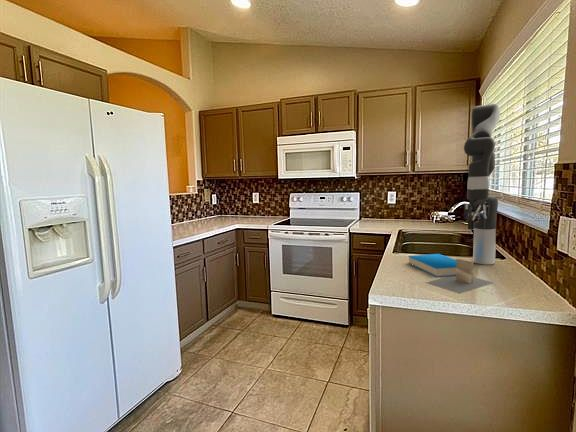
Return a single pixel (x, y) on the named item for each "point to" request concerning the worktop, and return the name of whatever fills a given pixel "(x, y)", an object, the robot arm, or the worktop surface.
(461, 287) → the mat
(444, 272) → the book
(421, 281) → the worktop surface
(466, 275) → the tile
